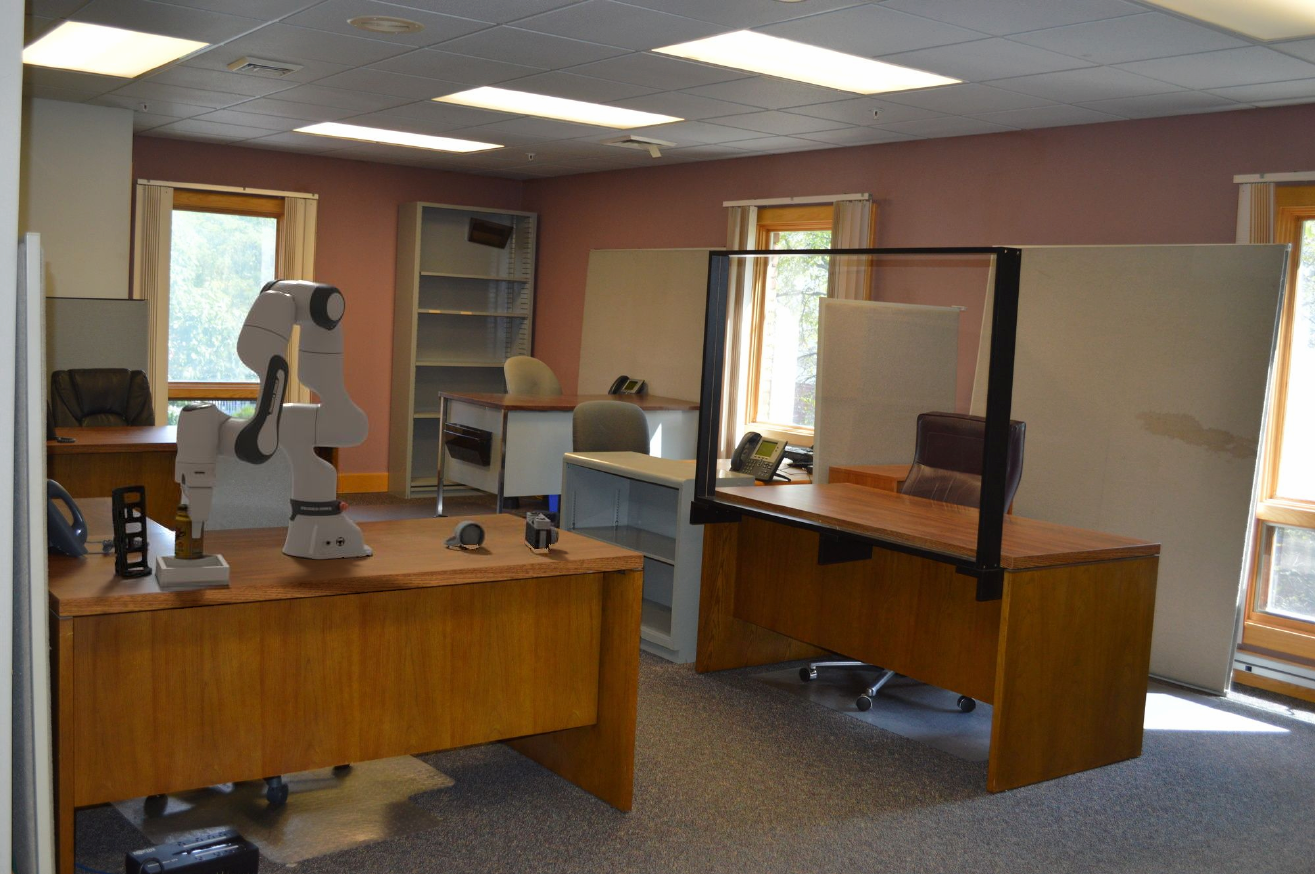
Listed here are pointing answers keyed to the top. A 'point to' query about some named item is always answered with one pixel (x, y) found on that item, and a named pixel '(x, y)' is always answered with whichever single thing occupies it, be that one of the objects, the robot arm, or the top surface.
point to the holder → (122, 536)
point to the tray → (192, 571)
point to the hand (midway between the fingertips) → (193, 534)
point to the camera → (540, 531)
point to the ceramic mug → (467, 534)
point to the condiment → (187, 538)
